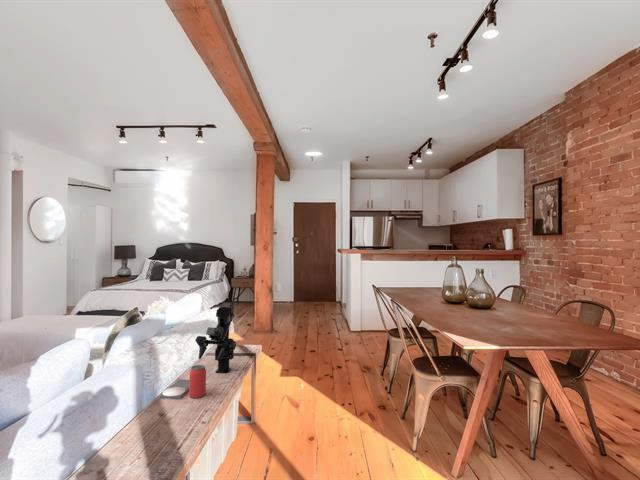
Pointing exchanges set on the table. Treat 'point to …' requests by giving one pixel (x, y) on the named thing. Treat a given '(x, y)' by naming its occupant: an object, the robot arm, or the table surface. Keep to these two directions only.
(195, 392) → the beer can
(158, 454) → the table surface
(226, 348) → the robot arm
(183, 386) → the charging dock
